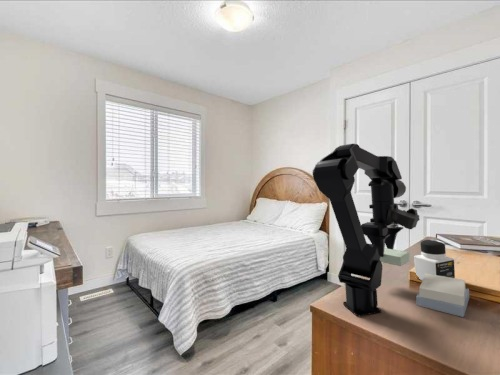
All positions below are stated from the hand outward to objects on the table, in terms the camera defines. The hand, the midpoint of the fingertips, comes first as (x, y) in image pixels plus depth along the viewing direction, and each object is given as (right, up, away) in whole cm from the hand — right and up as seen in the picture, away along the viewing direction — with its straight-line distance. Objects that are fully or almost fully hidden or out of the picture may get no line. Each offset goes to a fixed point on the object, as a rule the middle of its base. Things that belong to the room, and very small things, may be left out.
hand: (386, 253), depth 73 cm
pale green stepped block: (0, -2, 0) cm, 2 cm away
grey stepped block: (+9, -9, -10) cm, 16 cm away
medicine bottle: (+16, -9, +3) cm, 19 cm away
